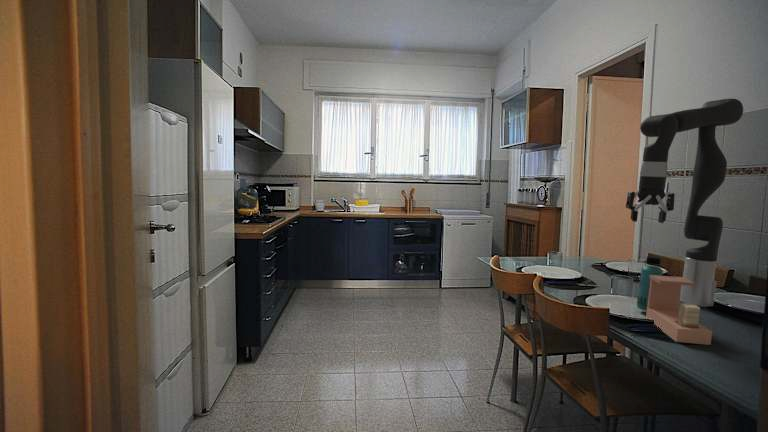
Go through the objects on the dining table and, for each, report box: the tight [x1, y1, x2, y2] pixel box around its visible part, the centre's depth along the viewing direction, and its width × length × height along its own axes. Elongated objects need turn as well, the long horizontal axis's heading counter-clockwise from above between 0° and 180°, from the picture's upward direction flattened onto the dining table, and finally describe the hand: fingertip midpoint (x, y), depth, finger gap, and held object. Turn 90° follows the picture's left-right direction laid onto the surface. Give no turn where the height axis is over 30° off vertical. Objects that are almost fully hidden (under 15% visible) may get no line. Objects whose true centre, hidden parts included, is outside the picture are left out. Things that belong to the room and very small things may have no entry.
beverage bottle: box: [636, 255, 664, 312], centre depth 138 cm, size 6×7×20 cm
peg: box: [678, 302, 701, 328], centre depth 118 cm, size 3×3×10 cm
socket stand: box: [645, 275, 713, 346], centre depth 123 cm, size 10×18×15 cm, turn 171°
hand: (647, 222), depth 138 cm, fingers open, 8 cm apart
